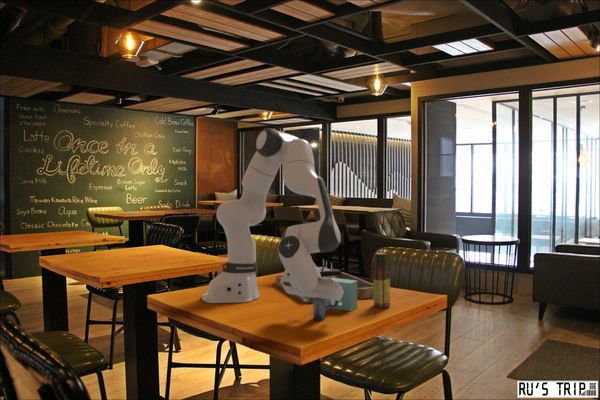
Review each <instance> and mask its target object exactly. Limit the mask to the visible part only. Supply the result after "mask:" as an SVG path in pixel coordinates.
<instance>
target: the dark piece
mask: <svg viewBox="0 0 600 400" xmlns="http://www.w3.org/2000/svg"><path fill="white" fill-rule="evenodd" d="M338 302H339V301H336V300H335V304H334V305H330V304H329V303H328V302H327V303H326V301H325V299H322V298H314V297H313V303H312V320H313V321H318V322H319V321H325V320H326V311H329V310H331V309H332V308H333V307H335V306H337V305H338Z"/></svg>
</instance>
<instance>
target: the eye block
mask: <svg viewBox="0 0 600 400" xmlns="http://www.w3.org/2000/svg"><path fill="white" fill-rule="evenodd" d="M331 279H334V280H336V281H337V282H338V283H339V284H340V286H341V287H342V289H343V291H344V293H343V296H342V300H340V301H339V302H338V305H337V306H335V307H333V308H331V309H332V310H333V309H334V310H340V311H346V312H352V311H353V310H355V309H358V299H357V283H358V281H356V280H347V279H339V278H331ZM328 301H329V299H326V301H325V303H327V302H328Z"/></svg>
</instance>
